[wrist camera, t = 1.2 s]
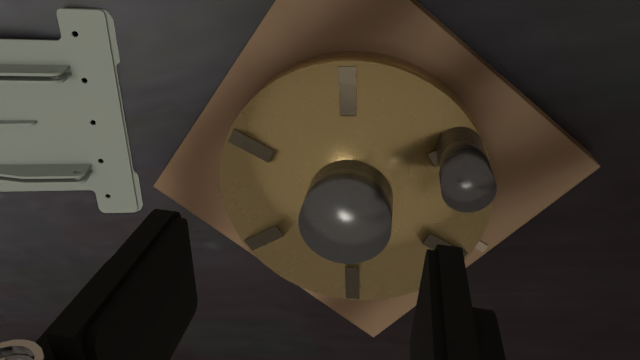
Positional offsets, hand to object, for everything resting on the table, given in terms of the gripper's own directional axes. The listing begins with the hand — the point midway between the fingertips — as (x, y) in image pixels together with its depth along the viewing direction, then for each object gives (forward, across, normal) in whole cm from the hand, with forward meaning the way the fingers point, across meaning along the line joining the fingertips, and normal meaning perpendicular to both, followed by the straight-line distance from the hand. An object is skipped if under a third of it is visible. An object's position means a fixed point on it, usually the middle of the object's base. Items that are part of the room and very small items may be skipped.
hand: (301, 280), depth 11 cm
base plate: (+20, 0, +7) cm, 21 cm away
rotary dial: (+17, 0, +7) cm, 18 cm away
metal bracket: (+20, +23, +5) cm, 31 cm away
